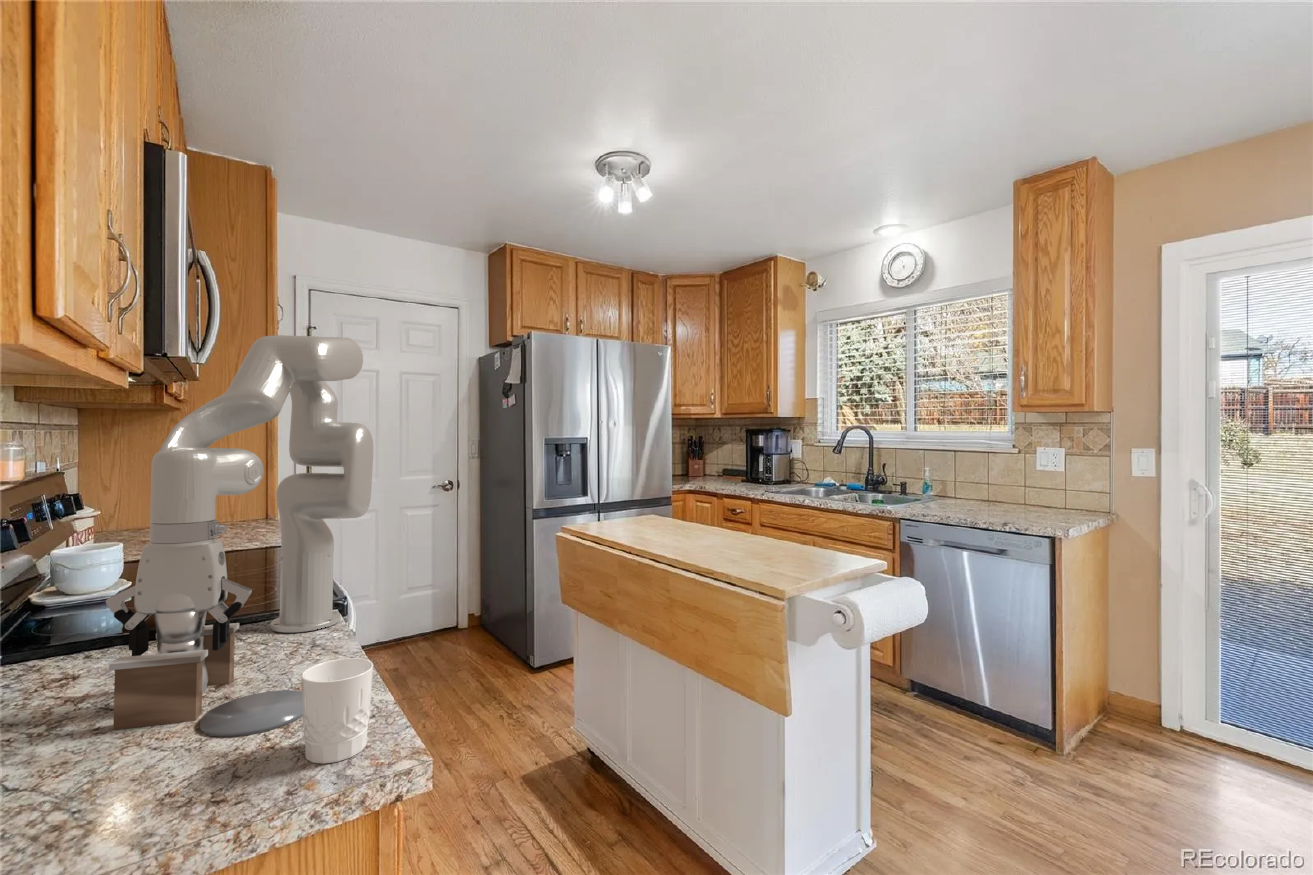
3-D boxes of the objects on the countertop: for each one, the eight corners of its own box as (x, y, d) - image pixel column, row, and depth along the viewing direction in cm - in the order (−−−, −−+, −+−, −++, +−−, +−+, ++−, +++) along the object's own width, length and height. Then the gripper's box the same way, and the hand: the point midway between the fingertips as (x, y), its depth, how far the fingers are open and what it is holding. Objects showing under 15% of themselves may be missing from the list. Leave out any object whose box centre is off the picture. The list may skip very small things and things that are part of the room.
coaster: (220, 700, 86) (220, 696, 86) (320, 689, 90) (320, 685, 90) (182, 743, 74) (182, 739, 74) (300, 728, 78) (300, 723, 78)
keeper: (162, 685, 91) (163, 628, 91) (238, 677, 95) (239, 622, 95) (107, 731, 77) (109, 664, 77) (199, 720, 80) (200, 656, 80)
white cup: (287, 753, 72) (289, 672, 72) (350, 728, 78) (352, 653, 78) (320, 774, 67) (321, 687, 68) (384, 745, 74) (385, 666, 74)
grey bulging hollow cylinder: (176, 714, 82) (179, 570, 82) (137, 709, 83) (140, 568, 83) (219, 694, 88) (222, 561, 88) (182, 690, 89) (185, 559, 90)
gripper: (260, 528, 92) (257, 637, 92) (123, 532, 86) (120, 648, 86) (244, 535, 85) (241, 653, 85) (94, 540, 79) (90, 667, 79)
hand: (180, 650), depth 86 cm, fingers open, 9 cm apart
